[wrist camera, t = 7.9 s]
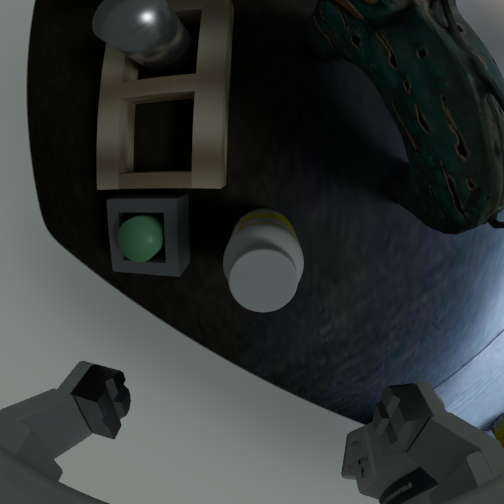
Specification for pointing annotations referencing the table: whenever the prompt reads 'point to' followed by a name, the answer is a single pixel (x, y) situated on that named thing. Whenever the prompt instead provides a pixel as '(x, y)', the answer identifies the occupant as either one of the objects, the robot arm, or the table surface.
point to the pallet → (166, 89)
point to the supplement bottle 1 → (263, 261)
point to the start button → (142, 236)
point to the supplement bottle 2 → (499, 429)
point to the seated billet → (146, 34)
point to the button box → (174, 228)
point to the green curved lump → (427, 101)
